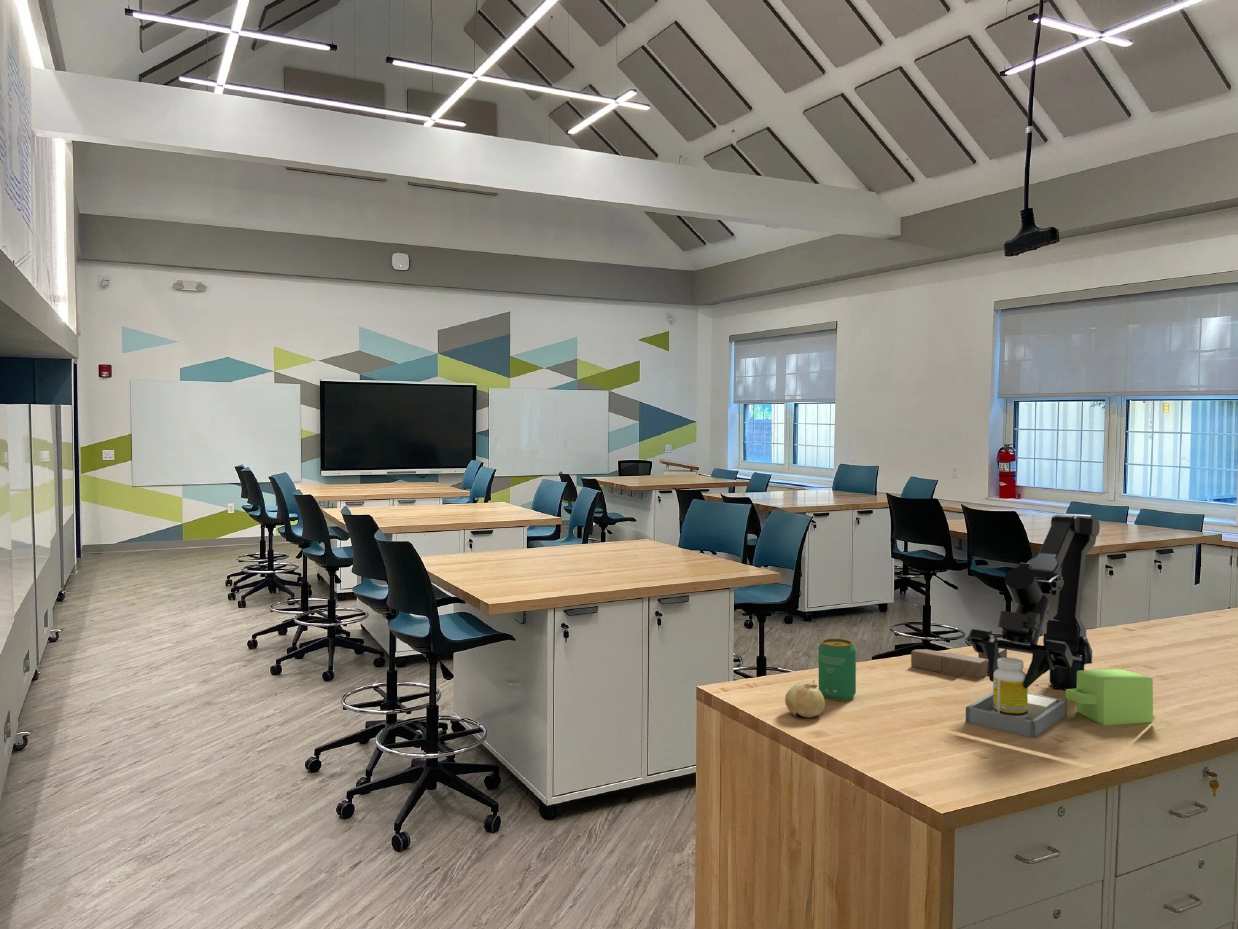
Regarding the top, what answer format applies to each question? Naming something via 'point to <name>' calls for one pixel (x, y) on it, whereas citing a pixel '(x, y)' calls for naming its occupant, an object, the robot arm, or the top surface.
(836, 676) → the beverage can
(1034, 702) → the cream rectangular block
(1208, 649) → the top surface
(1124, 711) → the green tabbed block
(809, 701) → the onion
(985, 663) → the wooden block set
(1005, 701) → the pill bottle
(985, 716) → the tote
